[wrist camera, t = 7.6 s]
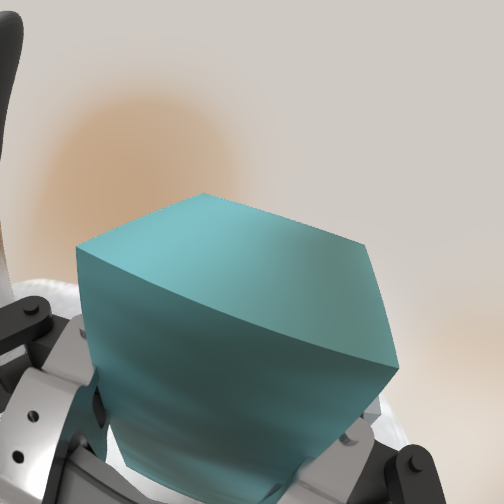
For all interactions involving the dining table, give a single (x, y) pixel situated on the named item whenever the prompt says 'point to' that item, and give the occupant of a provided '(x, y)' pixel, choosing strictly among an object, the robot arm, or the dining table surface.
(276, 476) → the teal pillar
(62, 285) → the dining table surface
